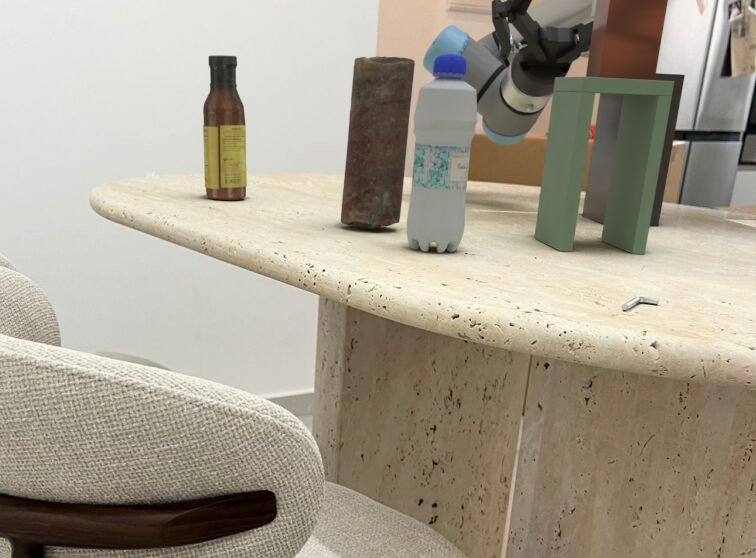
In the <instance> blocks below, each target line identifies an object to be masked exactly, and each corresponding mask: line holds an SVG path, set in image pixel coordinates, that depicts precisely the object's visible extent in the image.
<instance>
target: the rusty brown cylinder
mask: <svg viewBox="0 0 756 558" xmlns="http://www.w3.org/2000/svg"><path fill="white" fill-rule="evenodd" d="M415 65H416V62H415V60H414V59H412V58H408V57H398V56H389V57H388V56H370V57H366V56H361V57H360V56H359V57H356V58H355V59H354V64H353V73H352V84H351V85H352V86H351V94H350V95H351V97H350V110H349V119H348V120H349V121H348V131H347V132H348V134H347V145H346V156H345V167H344V177H343V188H342V199H341V212H340V223H341V224H343V225H347V226H353V227H355V228H359V229H362V230H364V229H365V230H378V229H380V228H382V227H389V226H392V225H395V224H399V223H400V219H401V211H402V210H401V209H402V203H403V192H404V181H405V171H406V159H407V158H406V157H407V149H408V137H409V126H410V125H409V124H410V114H411V104H412V96H413V86H414V75H415Z"/></svg>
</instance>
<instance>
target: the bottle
mask: <svg viewBox="0 0 756 558" xmlns="http://www.w3.org/2000/svg"><path fill="white" fill-rule="evenodd" d="M465 75H466V60H465V58H463V57H462V56H459V55H455V54H444V55H440V56H438V57H437V58H436V59H435V61H434V67H433V75H432V77H438V78H436V79H435V78H434V79H432V80H430V81H429V82H427V83H425V84H424V85H422V86H421V87H419V91H418V96H417V101H416V105H415V110H414V114H413V116H412V117H413V123H414V124H413V125H414V126H413V129H412V132H413V134H414V137H415V141H414V152H413V153H414V154H413V164H412V165H413V166H412V177H411V189H410V197H409V203H408V204H409V205H408V211H407V218H406V236H407V237H406V238H407V242H408V243H407V244H408V245H409V247H410V248H411V249H413V250H419V248H420V250H421V251H422V252H424V253H427V252H429V250H430V246H431V243H435V245H436V252H437V253H439V254H442V253H444V252H445V251H447V252H448V253H453V252H455V251H456V250H457V249H458V248H459V247H460V244H461V241H462V239H463V236H464V233H465V225H466V198H467V188H468V180H469V179H468V178H469V169H470V168H469V167H470V158H471V149H472V141H473V139H474V137H475V136H476V128H477V126H476V125H477V123H478V112H477V91H476V89H474V88H473V87H472V86H470V85H469V84H467V83H466V82H465V81H463V80H462V79H460V78H465Z"/></svg>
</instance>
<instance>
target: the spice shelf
mask: <svg viewBox="0 0 756 558" xmlns="http://www.w3.org/2000/svg"><path fill="white" fill-rule="evenodd" d="M685 77H686V74H680V73H660V72H659V73H657V72H656V76H655V80H659V81H674V86H673V92H672V98H671V104H670V110H669V116H668V121H667V127H666V133H665V139H664V145H663V151H662V156H661V162H660V168H659V174H658V180H657V185H656V191H655V197H654V203H653V209H652V214H651V220H650V226H649V227H659V225H660V220H661V219H660V218H661V213H662V208H663V201H664V196H665V190H666V184H667V179H668V174H669V168H670V162H671V156H672V152H673V151H672V150H673V146H674V145H673V144H674V139H675V134H676V128H677V122H678V117H679V110H680V105H681V99H682V94H683V88H684V83H685ZM623 96H624V95H622V94H601V93H599V97H598V105H597V112H596V119H595V126H594V132H593V138H592V147H591V153H590V158H589V160H590V161H589V166H588V167H589V168H588V174H587V181H586V188H585V195H584V201H583V207H582V215H581V216H582V217H583V218H587V219H589V220H592V221H595V222H597V223H600V224H602V225H604V218H605V212H606V205H607V199H608V192H609V186H610V180H611V173H612V167H613V160H614V154H615V147H616V141H617V134H618V128H619V121H620V115H621V108H622V102H623Z"/></svg>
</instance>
